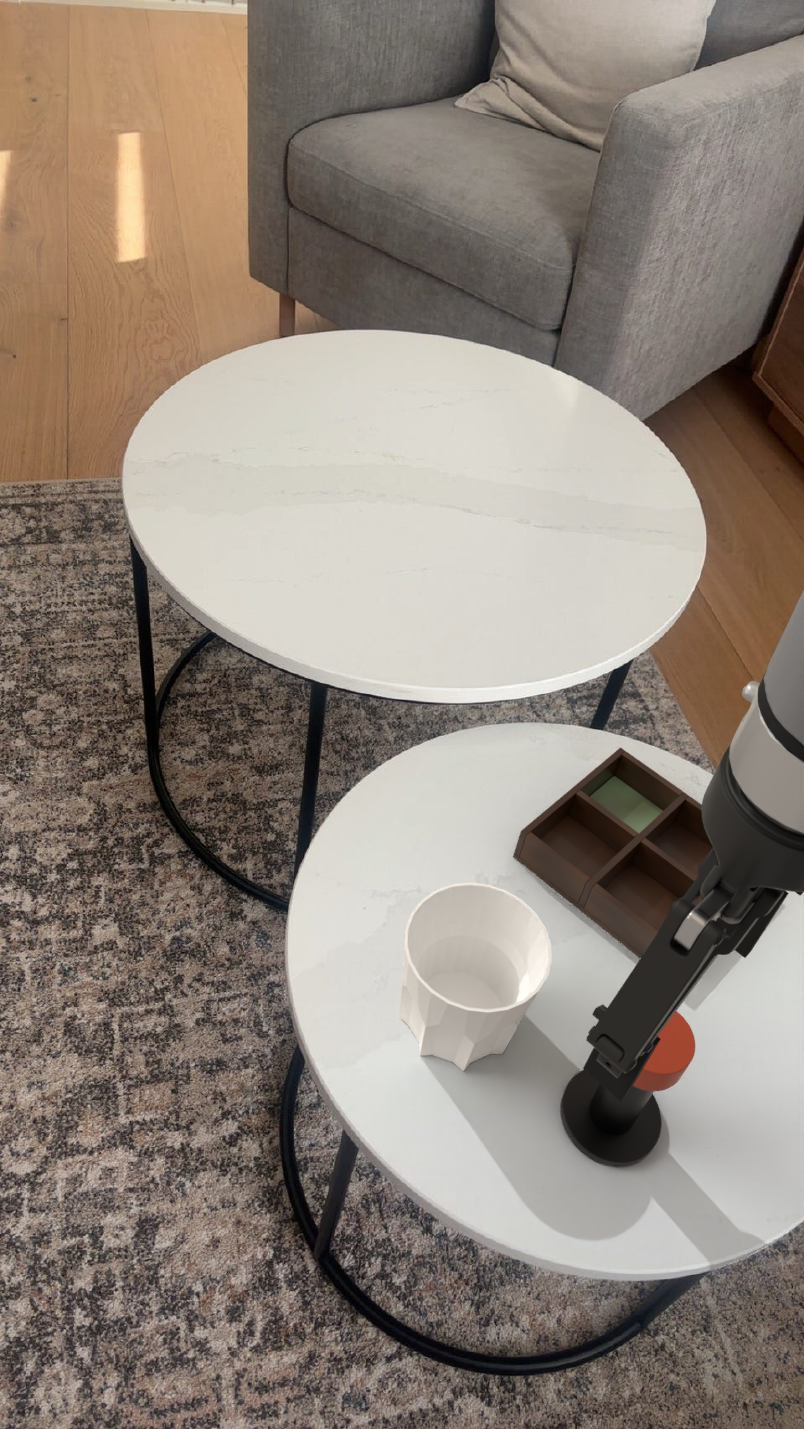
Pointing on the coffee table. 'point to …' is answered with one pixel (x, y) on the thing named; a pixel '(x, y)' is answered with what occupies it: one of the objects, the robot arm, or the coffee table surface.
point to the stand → (610, 1121)
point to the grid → (619, 848)
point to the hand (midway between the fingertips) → (671, 1007)
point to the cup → (471, 970)
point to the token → (668, 1056)
